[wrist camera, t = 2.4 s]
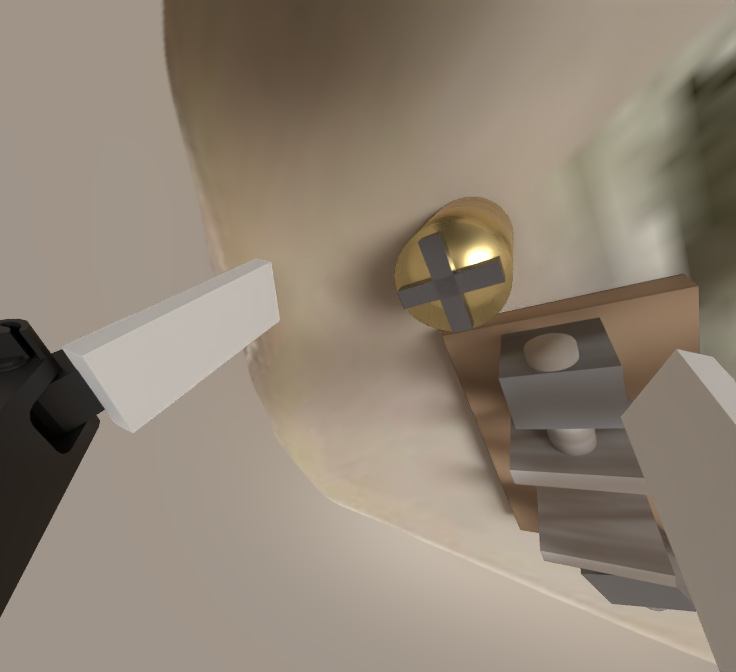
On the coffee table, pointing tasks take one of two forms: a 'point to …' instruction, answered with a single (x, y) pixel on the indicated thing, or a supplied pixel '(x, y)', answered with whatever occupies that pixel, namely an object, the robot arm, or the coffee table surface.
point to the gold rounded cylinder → (458, 266)
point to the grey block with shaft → (644, 587)
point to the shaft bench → (628, 332)
